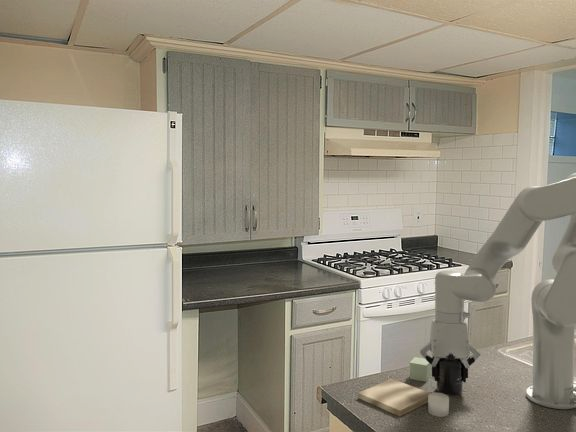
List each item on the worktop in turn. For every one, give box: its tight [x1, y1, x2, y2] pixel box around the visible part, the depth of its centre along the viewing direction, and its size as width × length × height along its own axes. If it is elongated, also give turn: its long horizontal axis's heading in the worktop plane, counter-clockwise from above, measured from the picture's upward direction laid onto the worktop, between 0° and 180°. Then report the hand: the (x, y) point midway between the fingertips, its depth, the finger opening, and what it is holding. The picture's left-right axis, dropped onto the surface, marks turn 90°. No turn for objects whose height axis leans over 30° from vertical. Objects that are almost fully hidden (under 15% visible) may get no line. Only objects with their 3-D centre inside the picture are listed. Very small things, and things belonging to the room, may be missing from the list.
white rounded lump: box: [427, 392, 450, 418], centre depth 124 cm, size 5×5×4 cm
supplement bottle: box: [436, 353, 464, 396], centre depth 135 cm, size 7×7×12 cm
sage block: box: [409, 356, 432, 383], centre depth 145 cm, size 5×5×5 cm
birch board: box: [357, 378, 432, 417], centre depth 132 cm, size 14×14×2 cm
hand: (449, 379), depth 136 cm, fingers closed on supplement bottle, 6 cm apart
